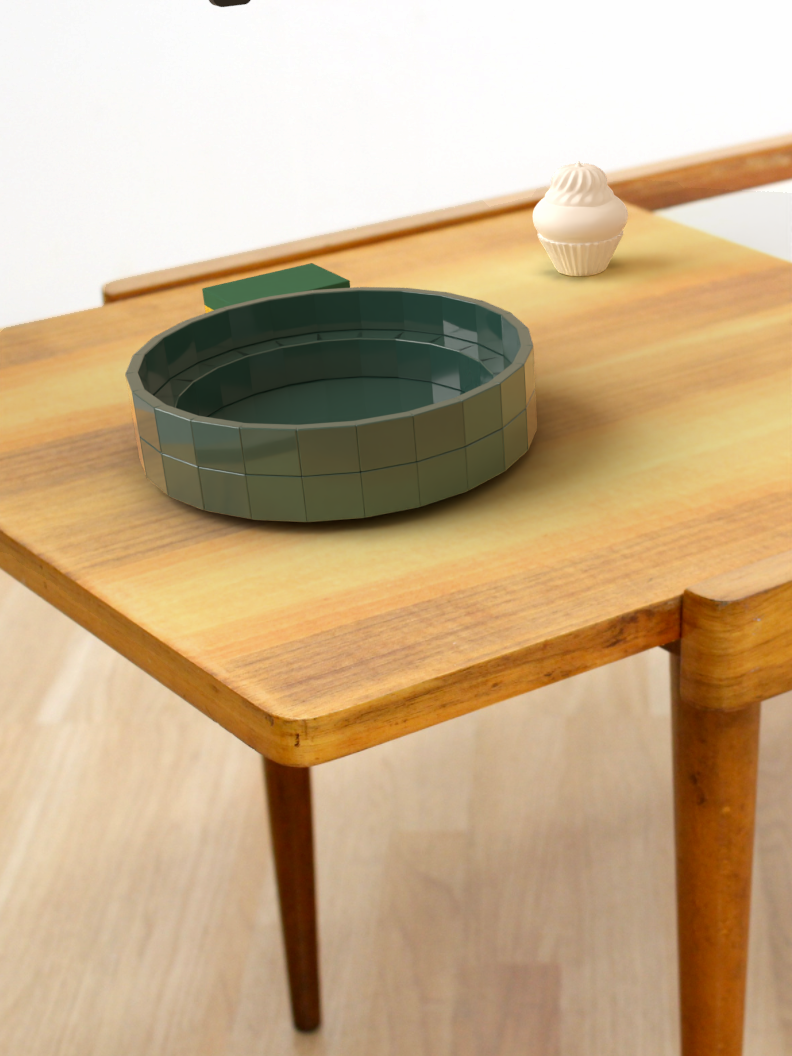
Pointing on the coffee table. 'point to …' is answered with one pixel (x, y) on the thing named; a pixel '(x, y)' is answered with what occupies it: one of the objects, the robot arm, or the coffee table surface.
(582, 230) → the muffin
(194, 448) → the bowl
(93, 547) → the coffee table surface
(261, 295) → the sponge
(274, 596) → the coffee table surface
